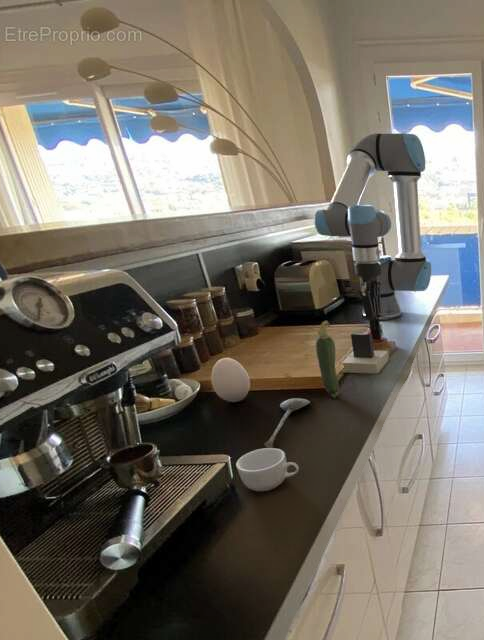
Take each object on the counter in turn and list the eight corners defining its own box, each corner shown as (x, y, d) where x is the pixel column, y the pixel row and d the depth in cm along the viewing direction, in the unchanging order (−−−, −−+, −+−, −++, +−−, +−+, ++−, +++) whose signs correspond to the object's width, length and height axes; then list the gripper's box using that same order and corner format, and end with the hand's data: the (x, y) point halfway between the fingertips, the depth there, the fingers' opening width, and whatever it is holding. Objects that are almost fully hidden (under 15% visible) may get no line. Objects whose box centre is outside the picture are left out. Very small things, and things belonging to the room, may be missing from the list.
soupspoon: (315, 403, 112) (288, 405, 112) (312, 391, 111) (284, 393, 110) (285, 447, 92) (252, 450, 92) (281, 433, 91) (247, 436, 90)
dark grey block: (353, 357, 132) (350, 333, 128) (356, 354, 133) (353, 331, 130) (372, 357, 131) (369, 334, 128) (374, 355, 133) (371, 332, 130)
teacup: (235, 498, 78) (227, 472, 75) (254, 472, 85) (247, 448, 82) (294, 496, 78) (288, 470, 76) (308, 470, 85) (303, 446, 83)
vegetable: (321, 398, 113) (307, 322, 105) (331, 391, 117) (318, 317, 108) (336, 400, 113) (323, 323, 104) (346, 393, 116) (334, 318, 108)
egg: (247, 391, 117) (236, 350, 112) (259, 400, 112) (248, 358, 107) (213, 401, 112) (200, 358, 107) (224, 411, 107) (211, 367, 102)
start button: (373, 342, 145) (372, 336, 144) (385, 343, 145) (384, 337, 144) (369, 346, 142) (368, 340, 141) (381, 347, 141) (380, 341, 141)
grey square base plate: (354, 358, 139) (352, 349, 138) (388, 360, 138) (387, 350, 137) (340, 372, 129) (338, 362, 128) (377, 373, 128) (376, 363, 127)
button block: (369, 346, 149) (368, 335, 147) (396, 347, 149) (394, 336, 147) (359, 357, 140) (357, 345, 138) (387, 358, 140) (385, 346, 138)
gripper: (372, 265, 126) (381, 345, 136) (386, 258, 138) (393, 332, 148) (346, 265, 126) (357, 344, 137) (362, 258, 138) (371, 331, 148)
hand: (376, 338), depth 142 cm, fingers closed
